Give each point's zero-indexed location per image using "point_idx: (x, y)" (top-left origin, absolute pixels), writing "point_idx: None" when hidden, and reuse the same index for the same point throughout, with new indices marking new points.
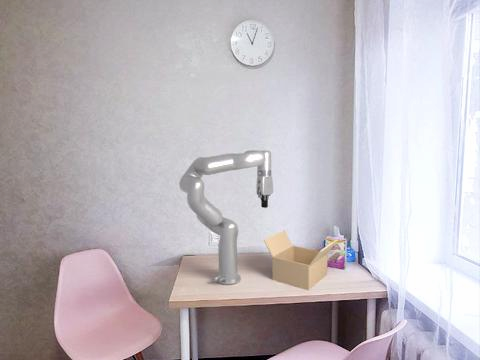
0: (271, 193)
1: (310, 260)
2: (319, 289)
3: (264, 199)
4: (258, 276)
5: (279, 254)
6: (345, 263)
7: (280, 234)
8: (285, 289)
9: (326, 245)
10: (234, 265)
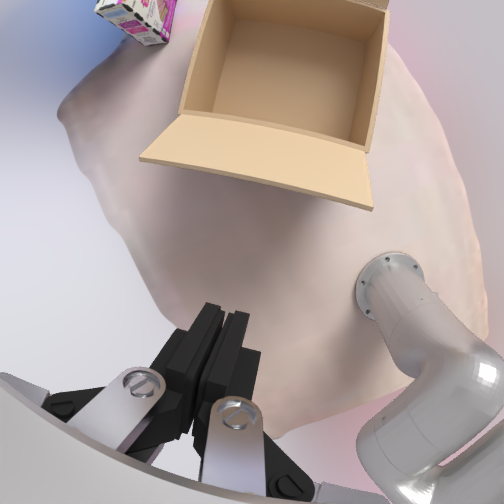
0: (3, 390)
1: (215, 50)
2: None
3: (262, 427)
4: (340, 208)
5: (317, 133)
6: None
7: (199, 158)
8: (394, 103)
9: (138, 9)
10: (422, 282)
